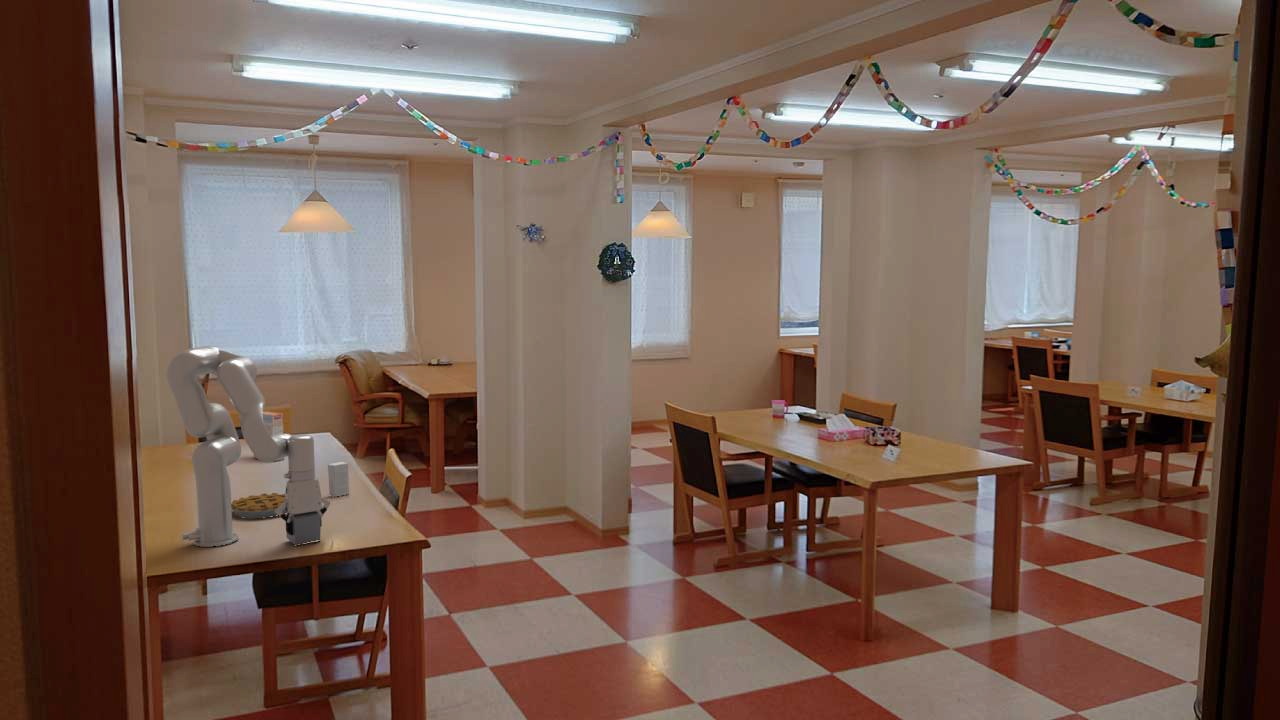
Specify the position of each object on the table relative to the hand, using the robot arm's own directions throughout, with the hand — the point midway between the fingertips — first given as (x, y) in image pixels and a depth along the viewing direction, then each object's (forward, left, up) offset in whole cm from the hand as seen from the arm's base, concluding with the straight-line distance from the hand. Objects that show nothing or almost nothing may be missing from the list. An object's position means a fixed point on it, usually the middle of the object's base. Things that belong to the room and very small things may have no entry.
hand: (304, 531), depth 291 cm
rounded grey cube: (0, +1, -3) cm, 3 cm away
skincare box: (+31, +53, -4) cm, 61 cm away
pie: (+2, +46, -4) cm, 46 cm away
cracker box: (+32, +138, -4) cm, 142 cm away
